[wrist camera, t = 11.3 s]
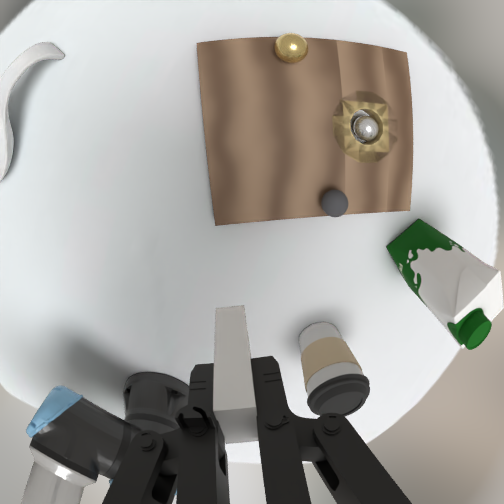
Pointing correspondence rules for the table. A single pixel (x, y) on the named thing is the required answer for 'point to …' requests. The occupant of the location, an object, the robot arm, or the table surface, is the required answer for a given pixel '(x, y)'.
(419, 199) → the table surface
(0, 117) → the white curved piece
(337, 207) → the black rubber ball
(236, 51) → the board
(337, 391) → the coffee cup
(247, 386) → the robot arm
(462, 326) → the milk carton
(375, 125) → the steel ball
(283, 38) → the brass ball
